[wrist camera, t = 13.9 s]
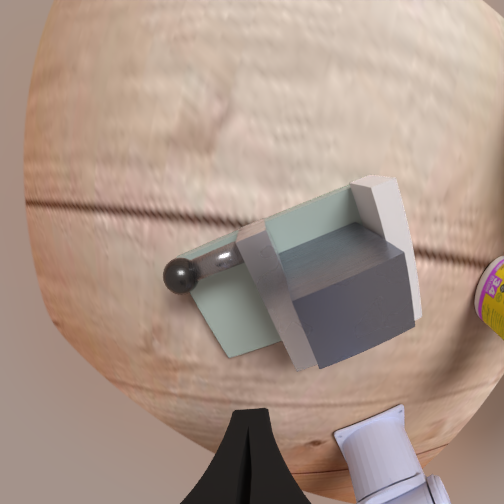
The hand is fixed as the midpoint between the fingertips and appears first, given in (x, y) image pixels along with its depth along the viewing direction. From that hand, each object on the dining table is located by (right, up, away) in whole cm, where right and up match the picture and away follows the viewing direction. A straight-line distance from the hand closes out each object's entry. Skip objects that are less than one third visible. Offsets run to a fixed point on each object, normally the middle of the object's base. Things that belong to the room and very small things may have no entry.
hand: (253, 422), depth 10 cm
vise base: (+3, +6, +8) cm, 10 cm away
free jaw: (-1, +4, +7) cm, 8 cm away
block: (+5, +6, +7) cm, 10 cm away
